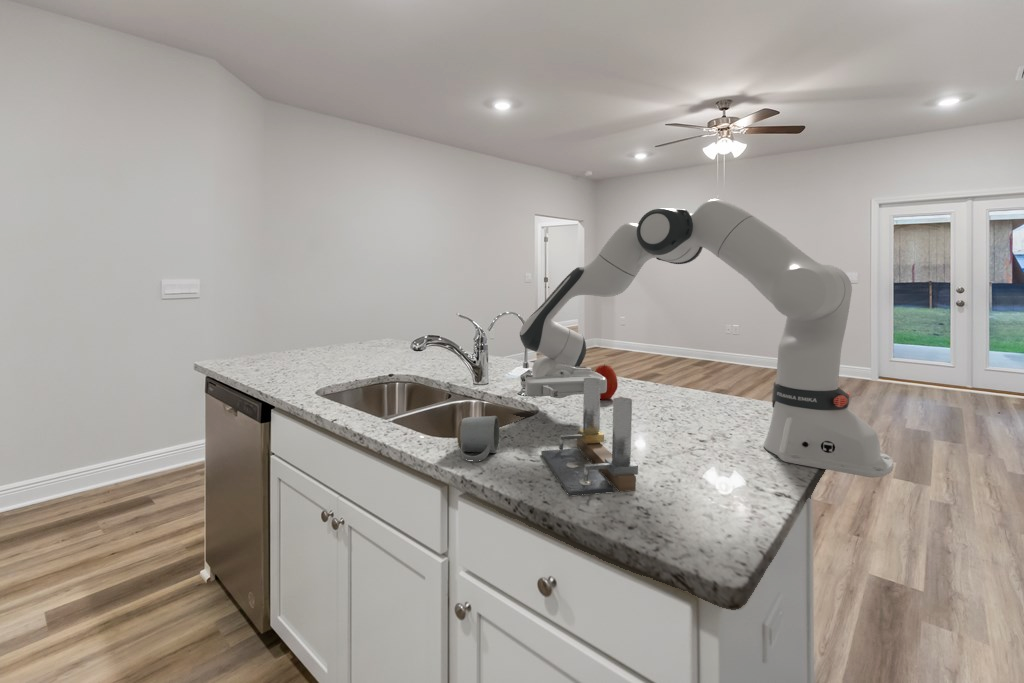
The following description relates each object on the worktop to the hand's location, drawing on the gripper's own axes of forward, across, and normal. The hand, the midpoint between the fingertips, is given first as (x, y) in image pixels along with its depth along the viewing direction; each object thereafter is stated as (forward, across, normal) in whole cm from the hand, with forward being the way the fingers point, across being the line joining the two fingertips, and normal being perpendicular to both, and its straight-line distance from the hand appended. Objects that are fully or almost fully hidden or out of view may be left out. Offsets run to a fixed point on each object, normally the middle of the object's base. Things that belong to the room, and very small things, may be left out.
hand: (574, 392), depth 114 cm
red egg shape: (-31, +19, +10) cm, 38 cm away
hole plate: (+21, -6, +10) cm, 24 cm away
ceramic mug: (+8, -23, +10) cm, 27 cm away
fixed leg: (+28, -2, +9) cm, 30 cm away
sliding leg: (+12, -2, +9) cm, 15 cm away
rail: (+19, 0, +10) cm, 22 cm away
